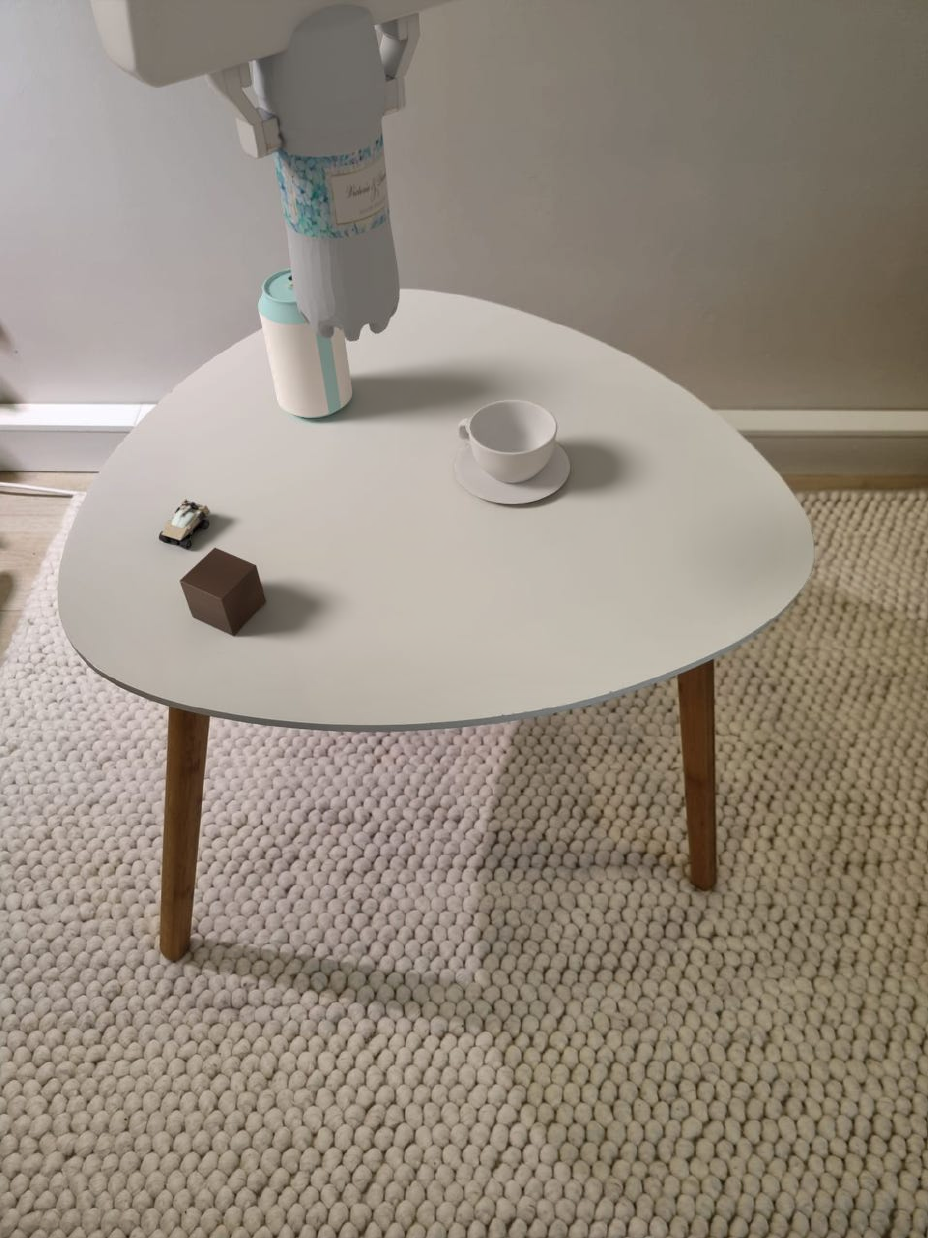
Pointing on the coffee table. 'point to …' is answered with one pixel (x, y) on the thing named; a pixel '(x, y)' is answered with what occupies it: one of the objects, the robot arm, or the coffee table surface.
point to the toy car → (185, 524)
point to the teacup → (511, 453)
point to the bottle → (334, 170)
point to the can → (302, 354)
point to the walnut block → (223, 591)
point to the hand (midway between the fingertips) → (325, 131)
